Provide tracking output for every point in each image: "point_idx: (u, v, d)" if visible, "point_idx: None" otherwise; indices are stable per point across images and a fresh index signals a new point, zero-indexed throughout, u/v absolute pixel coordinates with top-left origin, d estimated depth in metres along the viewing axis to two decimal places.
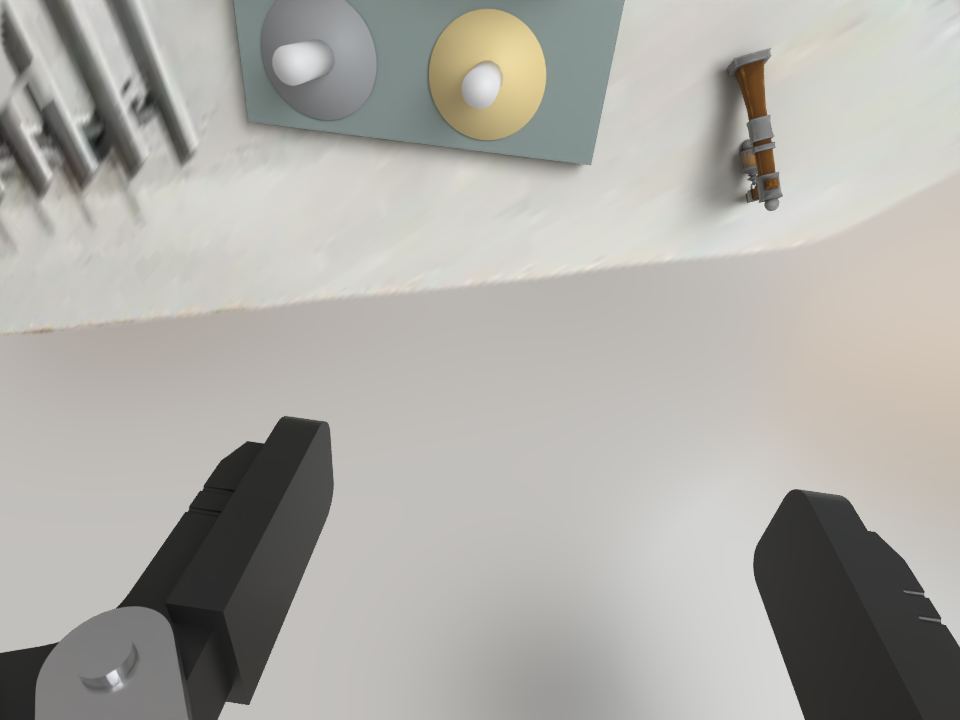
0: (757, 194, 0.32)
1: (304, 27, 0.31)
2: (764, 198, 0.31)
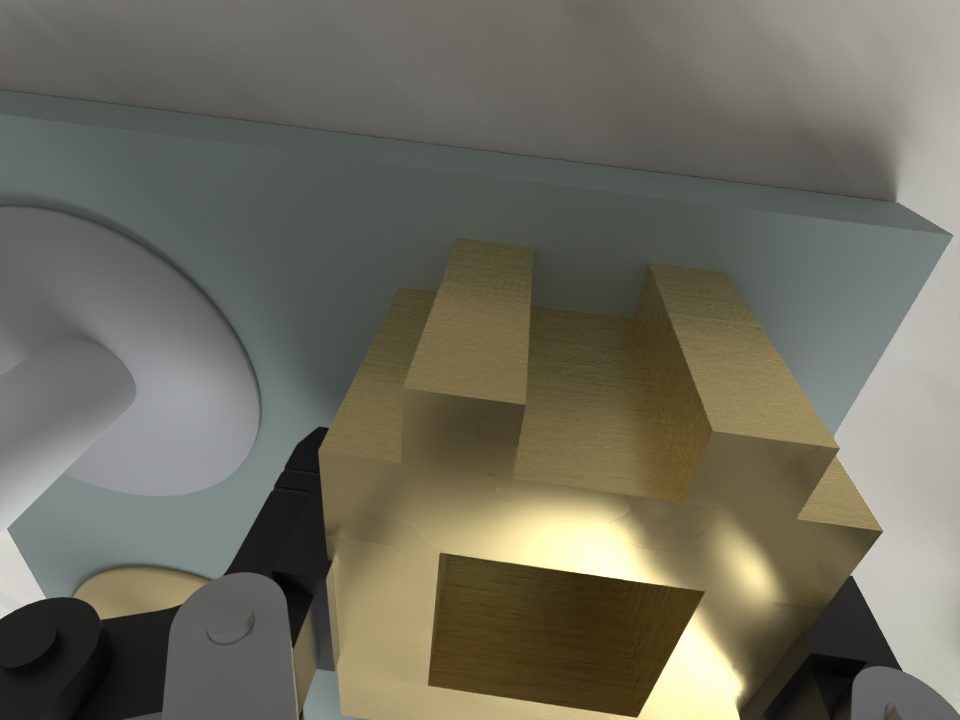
0: None
1: (152, 355, 0.10)
2: None
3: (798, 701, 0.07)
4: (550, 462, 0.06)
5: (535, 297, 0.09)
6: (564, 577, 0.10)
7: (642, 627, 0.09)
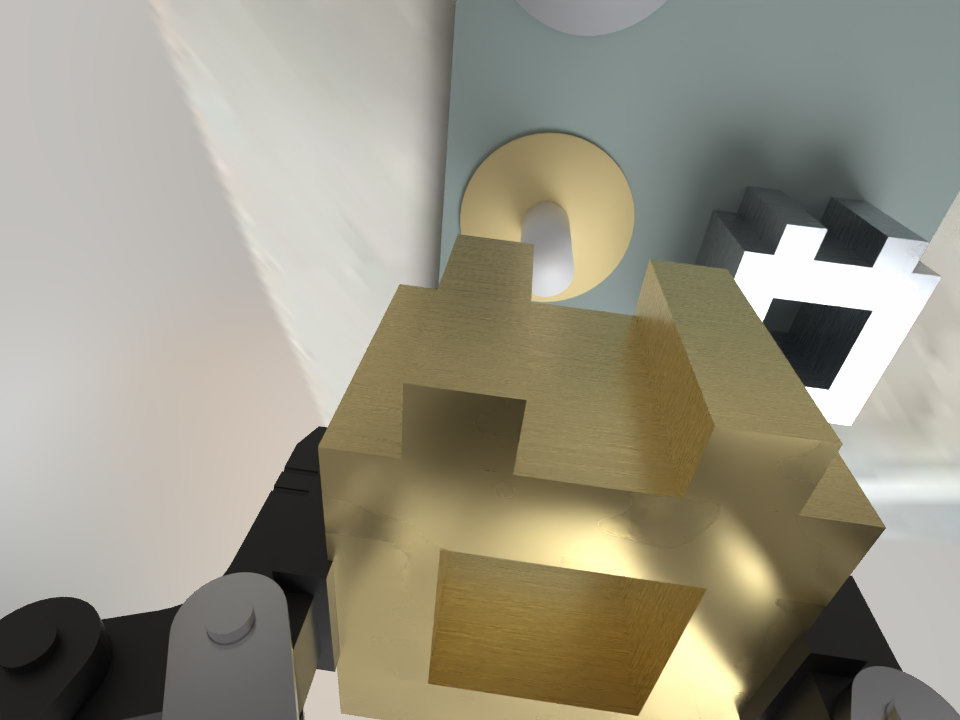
0: None
1: None
2: None
3: (798, 701, 0.07)
4: (550, 457, 0.06)
5: None
6: (565, 575, 0.10)
7: (643, 625, 0.09)
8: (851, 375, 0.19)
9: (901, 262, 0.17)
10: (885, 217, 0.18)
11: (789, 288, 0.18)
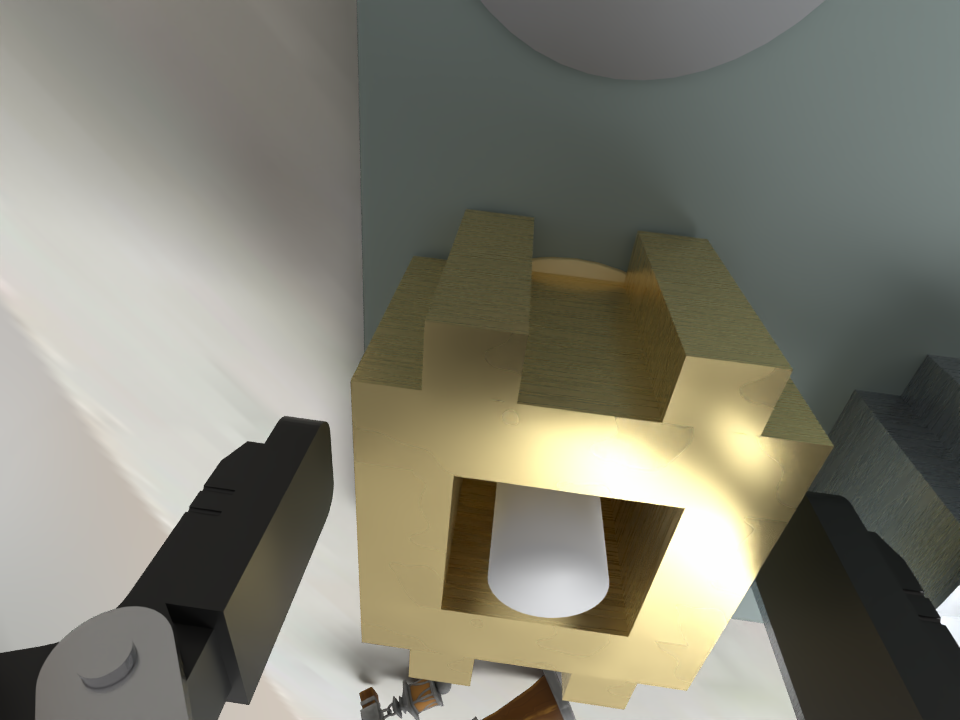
0: None
1: None
2: None
3: None
4: (549, 391, 0.07)
5: None
6: None
7: (633, 558, 0.10)
8: None
9: None
10: None
11: None
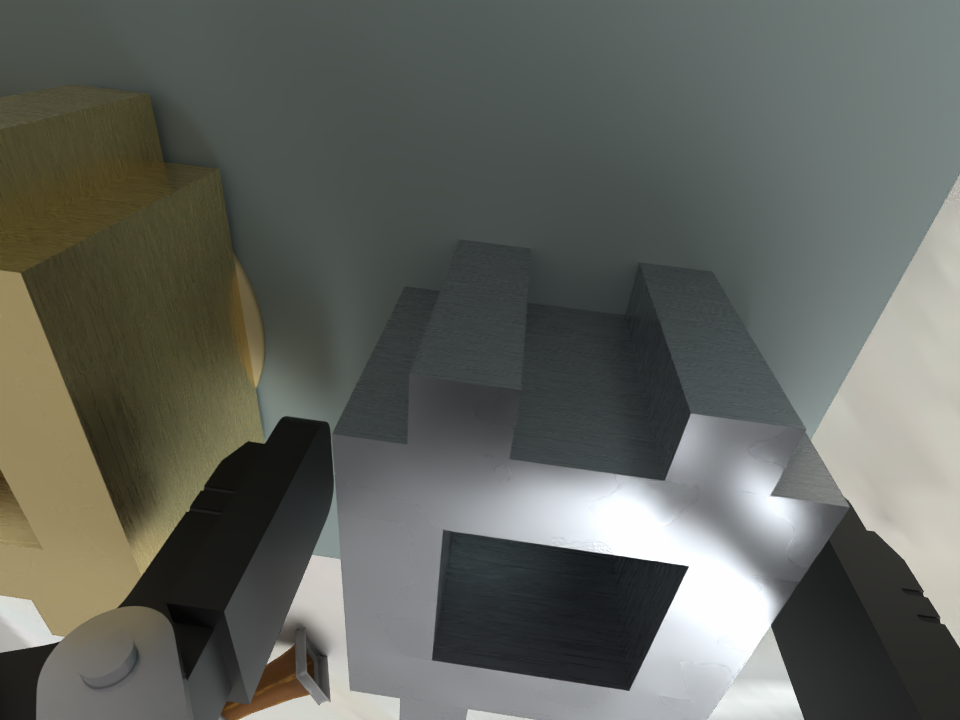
0: None
1: None
2: None
3: None
4: None
5: None
6: None
7: None
8: (670, 671, 0.09)
9: (738, 472, 0.06)
10: (728, 326, 0.08)
11: (474, 514, 0.07)
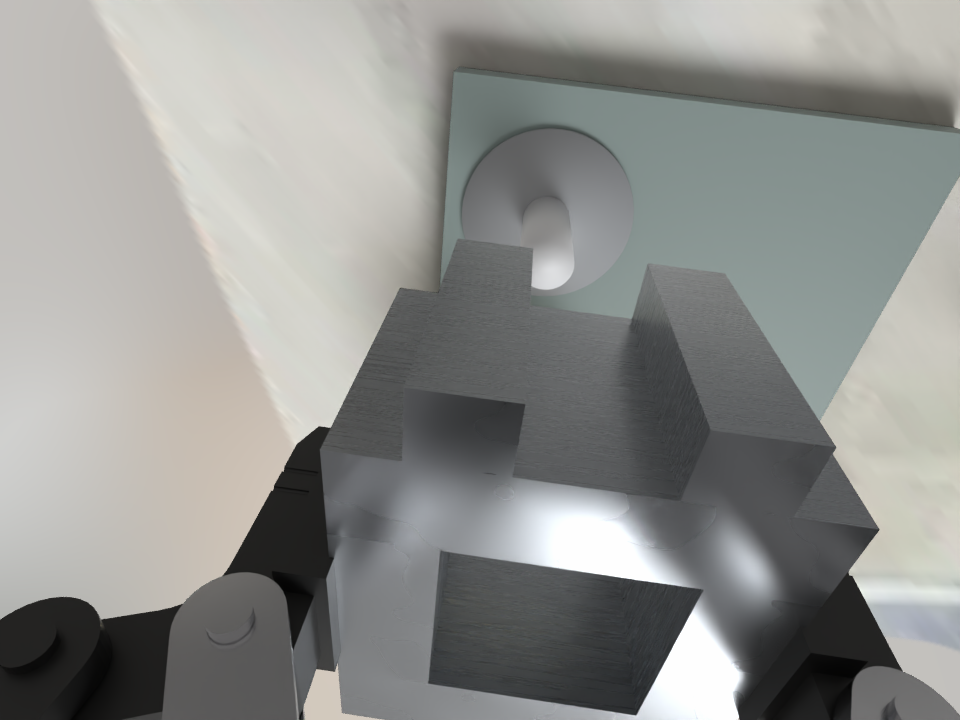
0: None
1: (586, 206, 0.21)
2: None
3: (798, 701, 0.07)
4: None
5: (787, 170, 0.20)
6: None
7: None
8: (680, 697, 0.08)
9: (760, 492, 0.06)
10: (745, 333, 0.07)
11: (474, 534, 0.07)
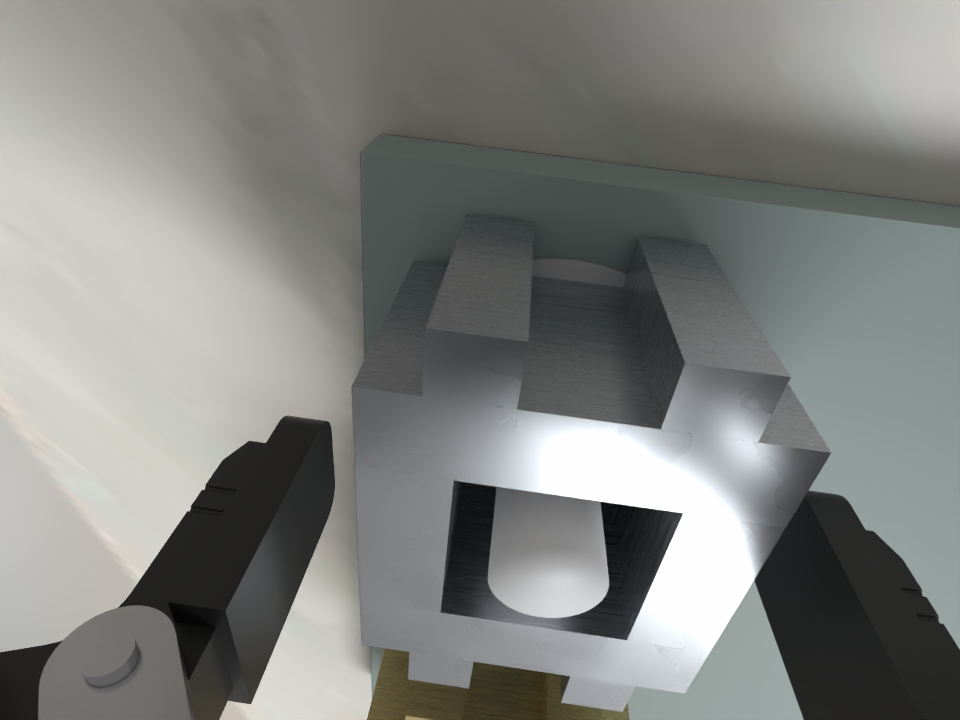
0: None
1: None
2: None
3: None
4: None
5: None
6: None
7: None
8: (665, 620, 0.09)
9: (729, 419, 0.07)
10: (721, 291, 0.08)
11: (483, 464, 0.08)
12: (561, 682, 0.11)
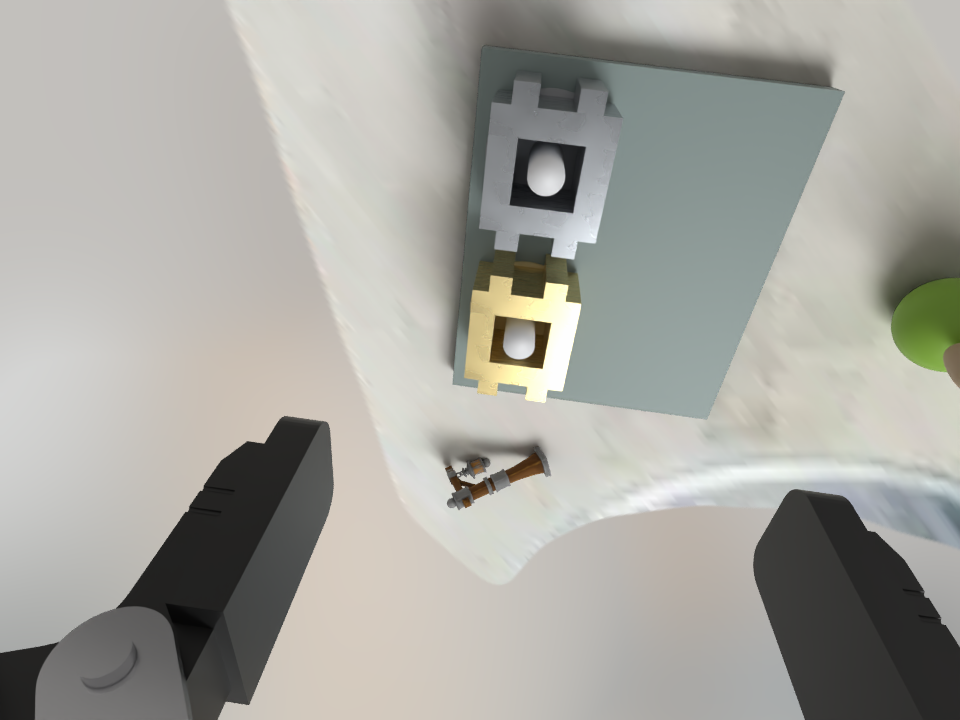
0: (455, 485, 0.43)
1: (574, 145, 0.30)
2: (456, 501, 0.42)
3: None
4: (518, 293, 0.31)
5: (715, 117, 0.29)
6: None
7: (545, 349, 0.33)
8: (585, 200, 0.27)
9: (594, 107, 0.25)
10: (599, 84, 0.26)
11: (527, 130, 0.26)
12: (551, 251, 0.29)
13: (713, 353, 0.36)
